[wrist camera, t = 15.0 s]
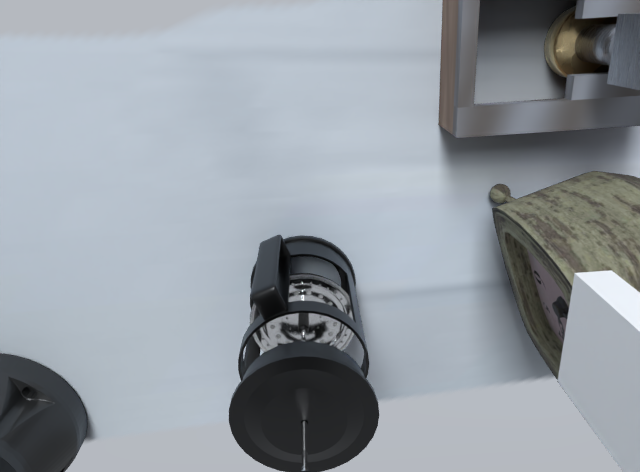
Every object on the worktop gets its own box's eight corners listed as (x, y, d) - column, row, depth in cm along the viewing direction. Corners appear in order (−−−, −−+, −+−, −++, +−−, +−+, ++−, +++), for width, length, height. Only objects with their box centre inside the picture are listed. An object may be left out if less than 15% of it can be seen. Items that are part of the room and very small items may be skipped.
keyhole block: (438, 124, 40) (456, 137, 36) (443, -31, 36) (464, -38, 31) (625, 112, 40) (666, 123, 36) (652, -44, 36) (703, -54, 31)
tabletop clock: (470, 177, 42) (672, 366, 19) (576, 136, 41) (926, 284, 18) (510, 314, 48) (705, 588, 25) (605, 281, 47) (902, 535, 24)
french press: (373, 310, 47) (432, 547, 26) (282, 346, 48) (267, 601, 27) (321, 201, 43) (342, 380, 21) (223, 244, 44) (150, 454, 23)
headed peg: (540, 80, 39) (657, 109, 26) (548, 6, 37) (679, -1, 24) (606, 75, 39) (755, 103, 26) (618, 2, 37) (786, -7, 24)
